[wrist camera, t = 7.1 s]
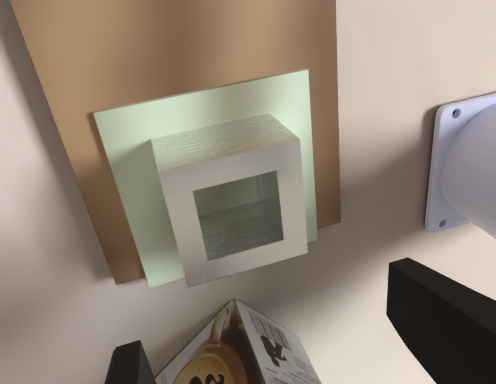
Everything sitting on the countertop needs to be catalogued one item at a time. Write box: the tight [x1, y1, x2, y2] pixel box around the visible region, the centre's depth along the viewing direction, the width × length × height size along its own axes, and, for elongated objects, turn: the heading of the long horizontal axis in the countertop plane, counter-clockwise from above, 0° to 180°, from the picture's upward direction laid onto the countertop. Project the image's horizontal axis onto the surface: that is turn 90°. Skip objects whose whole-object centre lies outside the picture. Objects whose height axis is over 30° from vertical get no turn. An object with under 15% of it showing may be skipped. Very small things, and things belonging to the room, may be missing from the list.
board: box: [9, 0, 341, 288], centre depth 14 cm, size 12×22×6 cm, turn 8°
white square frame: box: [151, 113, 308, 287], centre depth 17 cm, size 5×5×4 cm
